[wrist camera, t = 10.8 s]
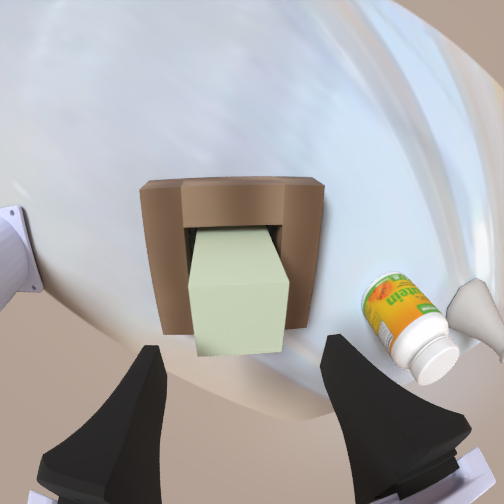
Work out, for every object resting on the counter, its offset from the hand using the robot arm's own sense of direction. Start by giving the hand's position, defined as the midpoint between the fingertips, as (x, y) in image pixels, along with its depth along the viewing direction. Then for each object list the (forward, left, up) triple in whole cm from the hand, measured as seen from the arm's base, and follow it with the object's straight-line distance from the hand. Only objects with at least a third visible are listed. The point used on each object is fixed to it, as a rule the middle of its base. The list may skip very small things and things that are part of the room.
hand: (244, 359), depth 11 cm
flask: (+28, -8, -10) cm, 31 cm away
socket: (0, 0, -10) cm, 10 cm away
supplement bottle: (+14, -5, -10) cm, 18 cm away
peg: (0, 0, -10) cm, 10 cm away
